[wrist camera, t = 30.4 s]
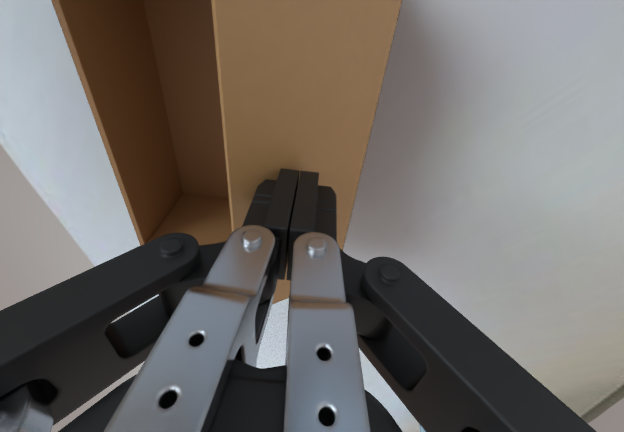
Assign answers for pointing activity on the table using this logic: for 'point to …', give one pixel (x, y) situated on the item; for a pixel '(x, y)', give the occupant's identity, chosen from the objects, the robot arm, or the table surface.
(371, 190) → the table surface
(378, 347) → the robot arm
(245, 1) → the flap
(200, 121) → the carton
